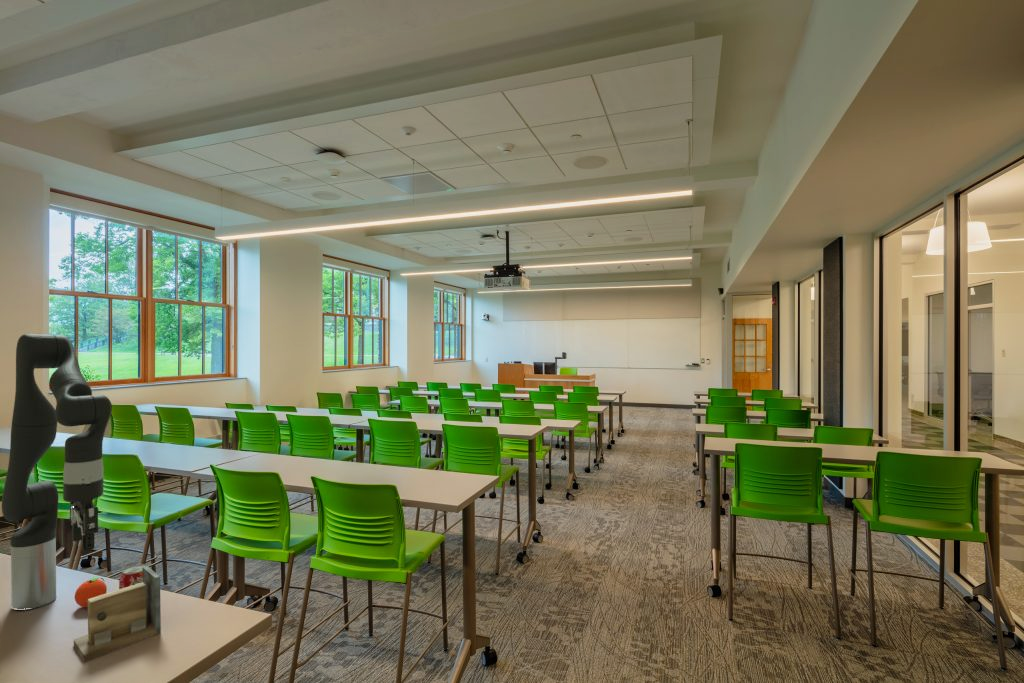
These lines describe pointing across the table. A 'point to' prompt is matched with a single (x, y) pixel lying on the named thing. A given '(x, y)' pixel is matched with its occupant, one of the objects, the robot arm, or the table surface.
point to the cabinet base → (137, 628)
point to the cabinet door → (116, 610)
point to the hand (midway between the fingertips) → (83, 545)
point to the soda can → (131, 576)
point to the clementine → (89, 591)
